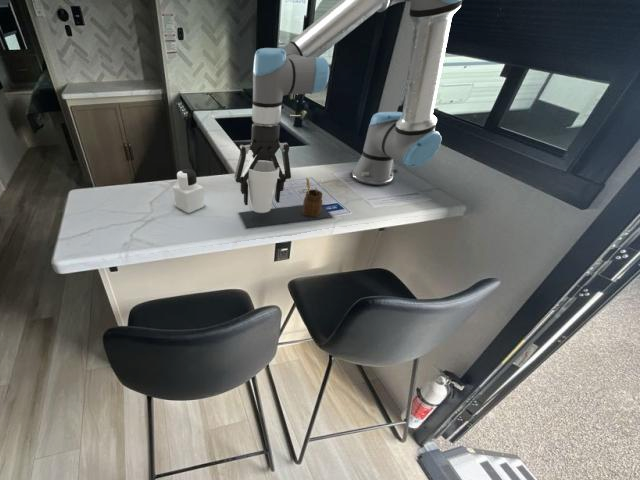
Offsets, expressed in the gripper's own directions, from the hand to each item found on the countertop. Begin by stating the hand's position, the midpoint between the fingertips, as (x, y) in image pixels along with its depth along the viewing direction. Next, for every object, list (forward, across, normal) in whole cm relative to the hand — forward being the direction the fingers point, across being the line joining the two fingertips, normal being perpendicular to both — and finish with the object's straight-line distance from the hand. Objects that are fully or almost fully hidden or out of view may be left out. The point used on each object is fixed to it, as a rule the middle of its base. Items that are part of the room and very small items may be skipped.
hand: (261, 201), depth 101 cm
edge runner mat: (+6, -9, -1) cm, 10 cm away
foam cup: (+2, 0, 0) cm, 2 cm away
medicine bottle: (+6, +22, -12) cm, 26 cm away
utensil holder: (+6, -17, 0) cm, 18 cm away
